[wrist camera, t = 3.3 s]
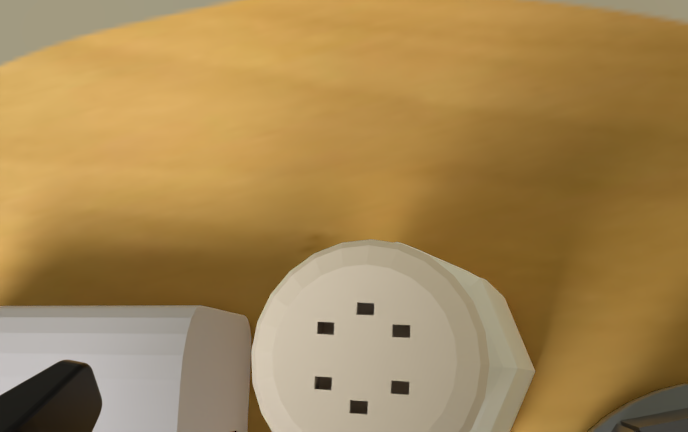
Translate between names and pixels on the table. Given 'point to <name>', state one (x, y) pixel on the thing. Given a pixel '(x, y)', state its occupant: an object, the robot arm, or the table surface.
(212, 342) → the charger
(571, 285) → the table surface
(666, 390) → the grey octagonal tray
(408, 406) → the pepper shaker
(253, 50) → the table surface
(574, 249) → the table surface
